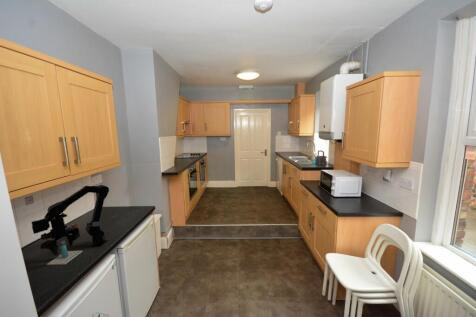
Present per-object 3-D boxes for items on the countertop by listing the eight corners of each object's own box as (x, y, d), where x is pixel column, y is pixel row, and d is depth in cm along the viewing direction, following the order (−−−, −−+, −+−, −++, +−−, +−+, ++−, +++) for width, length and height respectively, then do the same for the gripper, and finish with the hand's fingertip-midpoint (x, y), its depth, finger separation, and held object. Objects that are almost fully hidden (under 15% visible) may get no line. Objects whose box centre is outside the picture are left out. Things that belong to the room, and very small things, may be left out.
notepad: (66, 252, 125) (65, 251, 125) (82, 251, 124) (82, 250, 124) (46, 265, 113) (46, 264, 113) (64, 264, 113) (64, 263, 112)
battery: (80, 235, 145) (77, 222, 144) (75, 240, 139) (72, 227, 137) (73, 236, 144) (70, 223, 143) (68, 241, 138) (65, 228, 136)
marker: (65, 255, 120) (61, 240, 119) (70, 255, 120) (66, 239, 119) (60, 258, 117) (56, 243, 116) (65, 258, 117) (61, 243, 116)
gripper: (60, 219, 125) (65, 242, 128) (28, 235, 107) (34, 261, 109) (77, 218, 125) (81, 241, 127) (47, 234, 106) (53, 260, 109)
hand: (63, 250), depth 118 cm, fingers open, 9 cm apart
